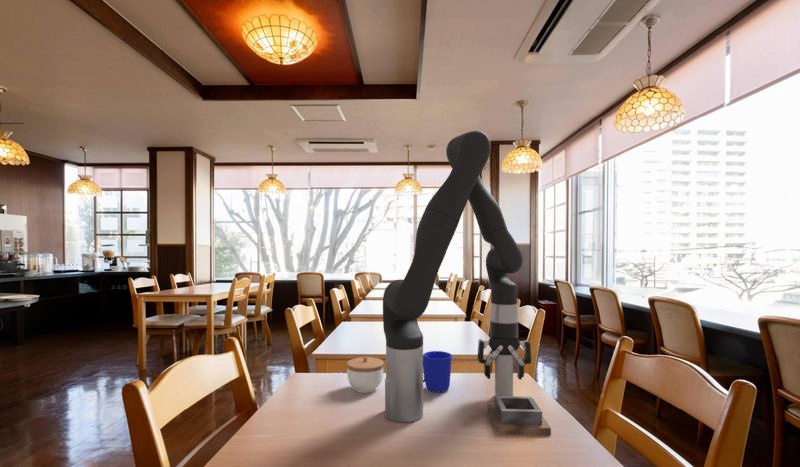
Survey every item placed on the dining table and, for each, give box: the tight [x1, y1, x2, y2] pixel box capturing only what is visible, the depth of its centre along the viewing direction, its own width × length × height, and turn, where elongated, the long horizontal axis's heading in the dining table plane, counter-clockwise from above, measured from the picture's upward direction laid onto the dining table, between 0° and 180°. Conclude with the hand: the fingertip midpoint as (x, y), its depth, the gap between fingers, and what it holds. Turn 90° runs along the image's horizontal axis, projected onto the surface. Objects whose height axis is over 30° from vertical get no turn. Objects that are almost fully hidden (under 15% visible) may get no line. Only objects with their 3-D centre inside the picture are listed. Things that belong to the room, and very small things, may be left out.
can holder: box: [487, 395, 552, 436], centre depth 100 cm, size 12×12×4 cm
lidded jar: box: [346, 355, 385, 394], centre depth 122 cm, size 11×11×9 cm
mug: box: [423, 350, 453, 393], centre depth 122 cm, size 8×12×10 cm
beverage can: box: [494, 355, 514, 396], centre depth 116 cm, size 5×5×12 cm
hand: (504, 378), depth 116 cm, fingers open, 8 cm apart
